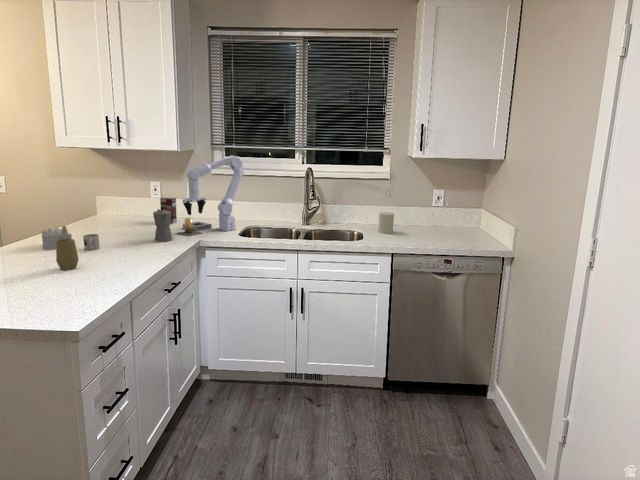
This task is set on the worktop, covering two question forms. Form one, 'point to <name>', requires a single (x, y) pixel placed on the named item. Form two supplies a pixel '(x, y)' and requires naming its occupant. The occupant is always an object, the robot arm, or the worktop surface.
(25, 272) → the worktop surface
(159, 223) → the coffeepot
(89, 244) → the mug
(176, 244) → the worktop surface
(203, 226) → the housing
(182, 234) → the mat
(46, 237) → the lumpy-topped squat cylinder
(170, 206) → the supplement box
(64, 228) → the squeeze bottle
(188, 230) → the end cap
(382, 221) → the can
